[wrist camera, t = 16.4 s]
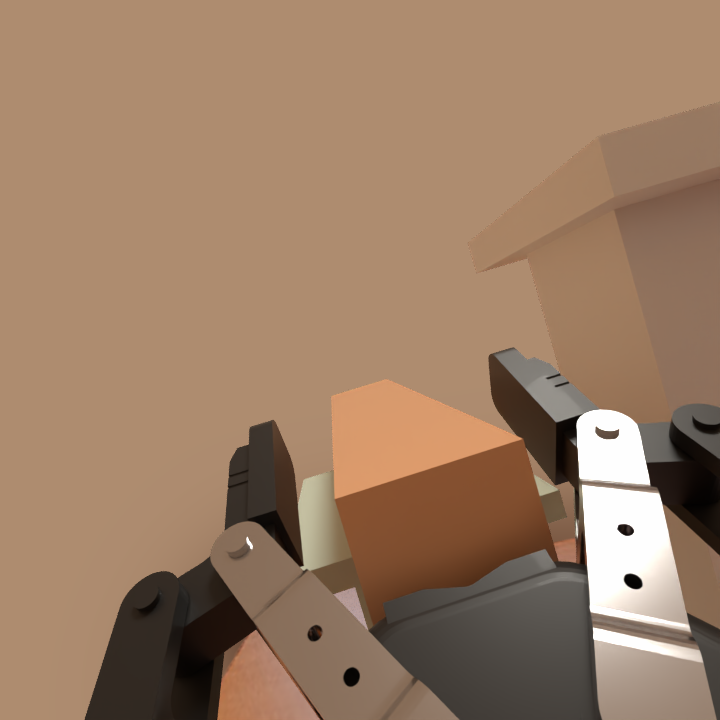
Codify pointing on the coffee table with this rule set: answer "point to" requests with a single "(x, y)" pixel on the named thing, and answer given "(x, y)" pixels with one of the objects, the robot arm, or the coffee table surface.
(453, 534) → the beam
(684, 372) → the tall stand
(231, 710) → the coffee table surface
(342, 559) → the short stand
